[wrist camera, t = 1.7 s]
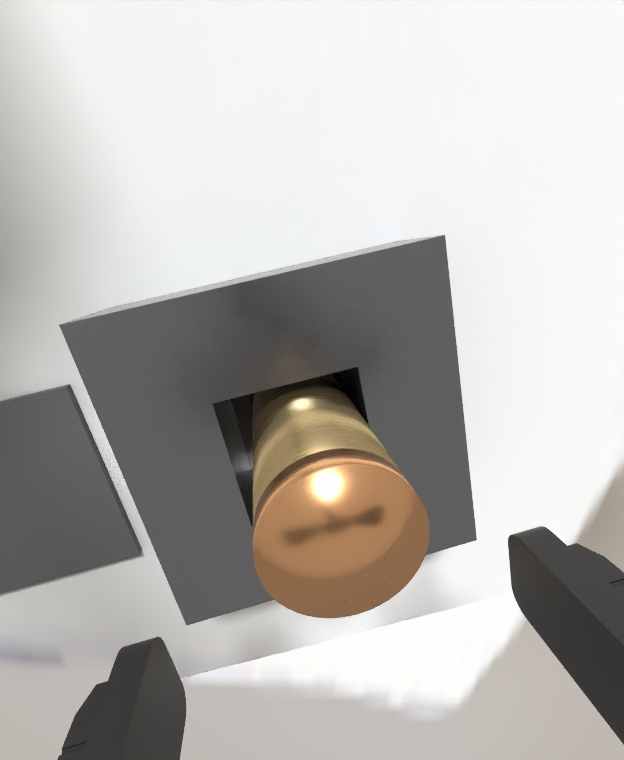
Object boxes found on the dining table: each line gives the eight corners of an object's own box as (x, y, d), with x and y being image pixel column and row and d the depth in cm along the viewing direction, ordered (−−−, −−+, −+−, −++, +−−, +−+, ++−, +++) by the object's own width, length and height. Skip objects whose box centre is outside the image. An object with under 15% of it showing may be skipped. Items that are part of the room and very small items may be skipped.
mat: (-150, 438, 18) (-158, 441, 18) (69, 384, 19) (65, 386, 19) (-44, 601, 21) (-49, 607, 21) (141, 549, 22) (139, 554, 22)
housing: (109, 308, 18) (59, 325, 14) (397, 241, 19) (444, 235, 15) (200, 549, 23) (186, 625, 18) (431, 484, 24) (476, 540, 19)
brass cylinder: (242, 373, 20) (231, 495, 10) (333, 351, 20) (417, 444, 10) (265, 455, 22) (277, 638, 11) (350, 433, 22) (438, 589, 12)
